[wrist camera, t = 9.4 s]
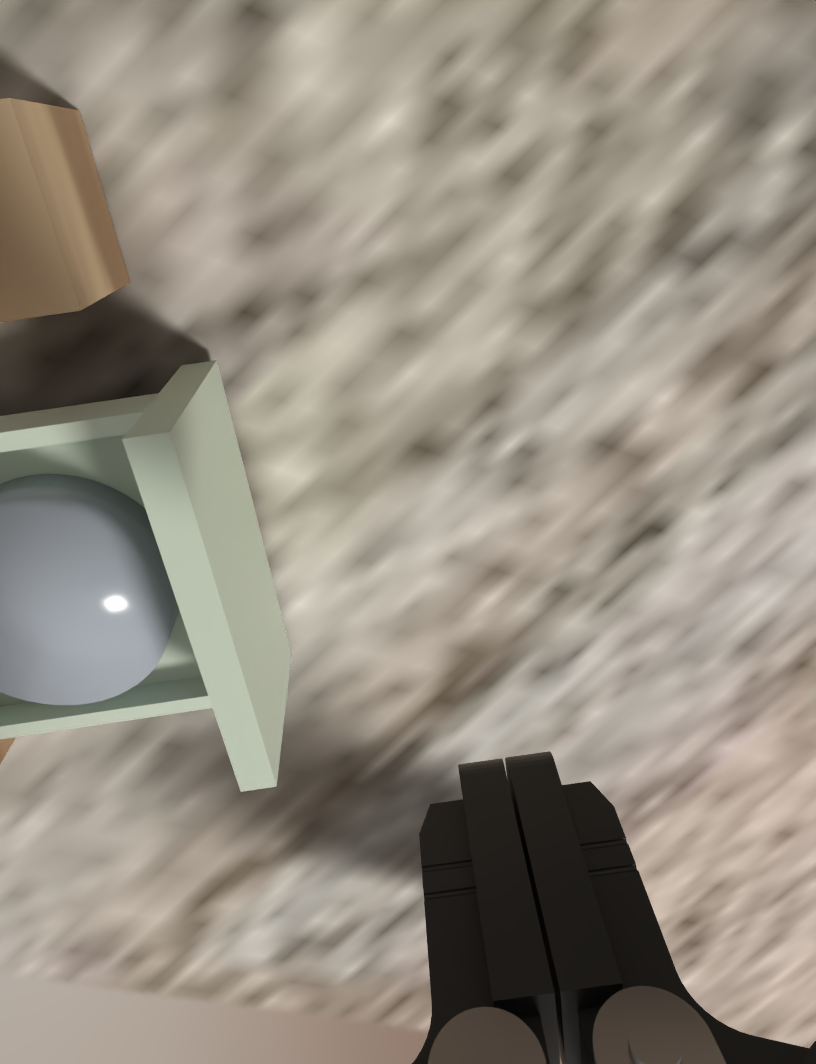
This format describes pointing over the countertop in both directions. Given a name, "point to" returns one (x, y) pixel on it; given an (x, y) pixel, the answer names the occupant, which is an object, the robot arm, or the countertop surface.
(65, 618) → the grey round dome
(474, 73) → the countertop surface
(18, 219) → the oak block
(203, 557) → the tray
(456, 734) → the countertop surface
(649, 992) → the robot arm
